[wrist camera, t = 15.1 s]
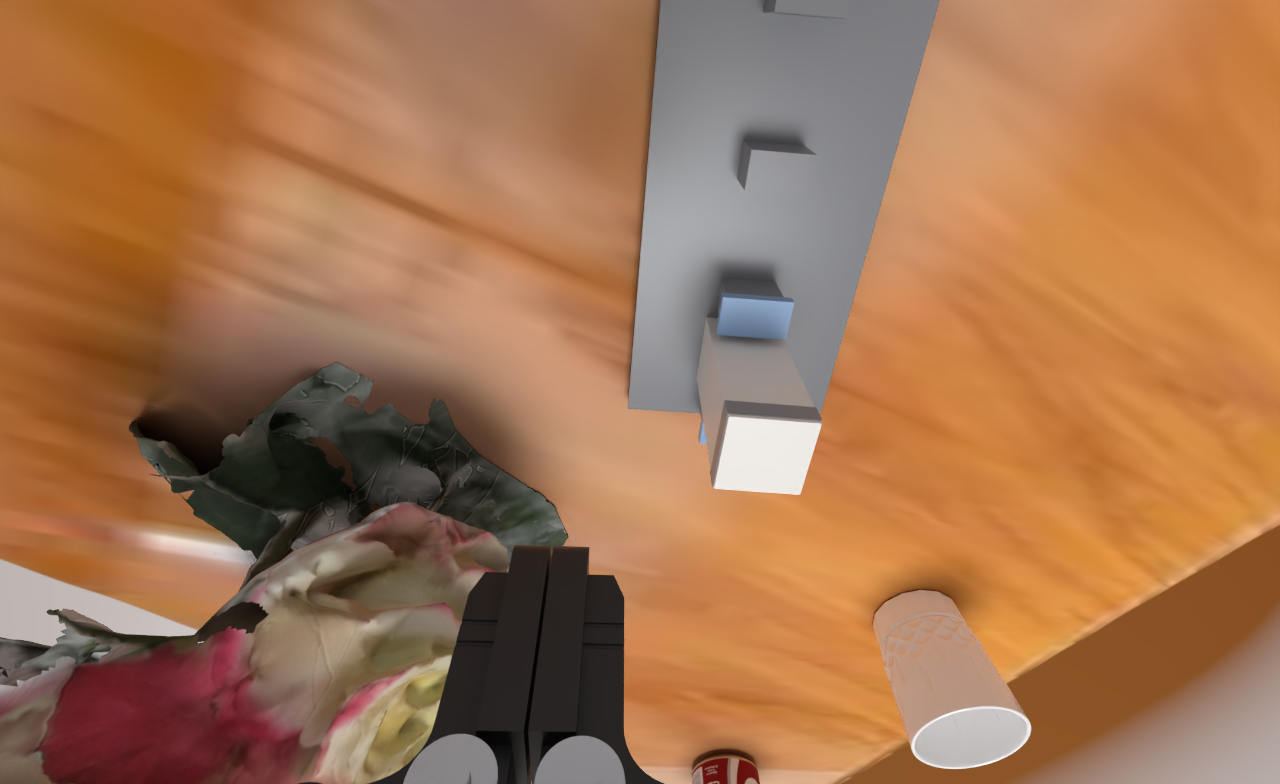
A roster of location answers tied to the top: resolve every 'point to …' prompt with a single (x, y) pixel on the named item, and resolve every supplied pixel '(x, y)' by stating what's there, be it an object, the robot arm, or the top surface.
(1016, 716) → the white cup
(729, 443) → the plug
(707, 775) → the soda can
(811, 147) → the mounting plate with blocks
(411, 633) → the rose bouquet
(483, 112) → the top surface
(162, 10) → the top surface
